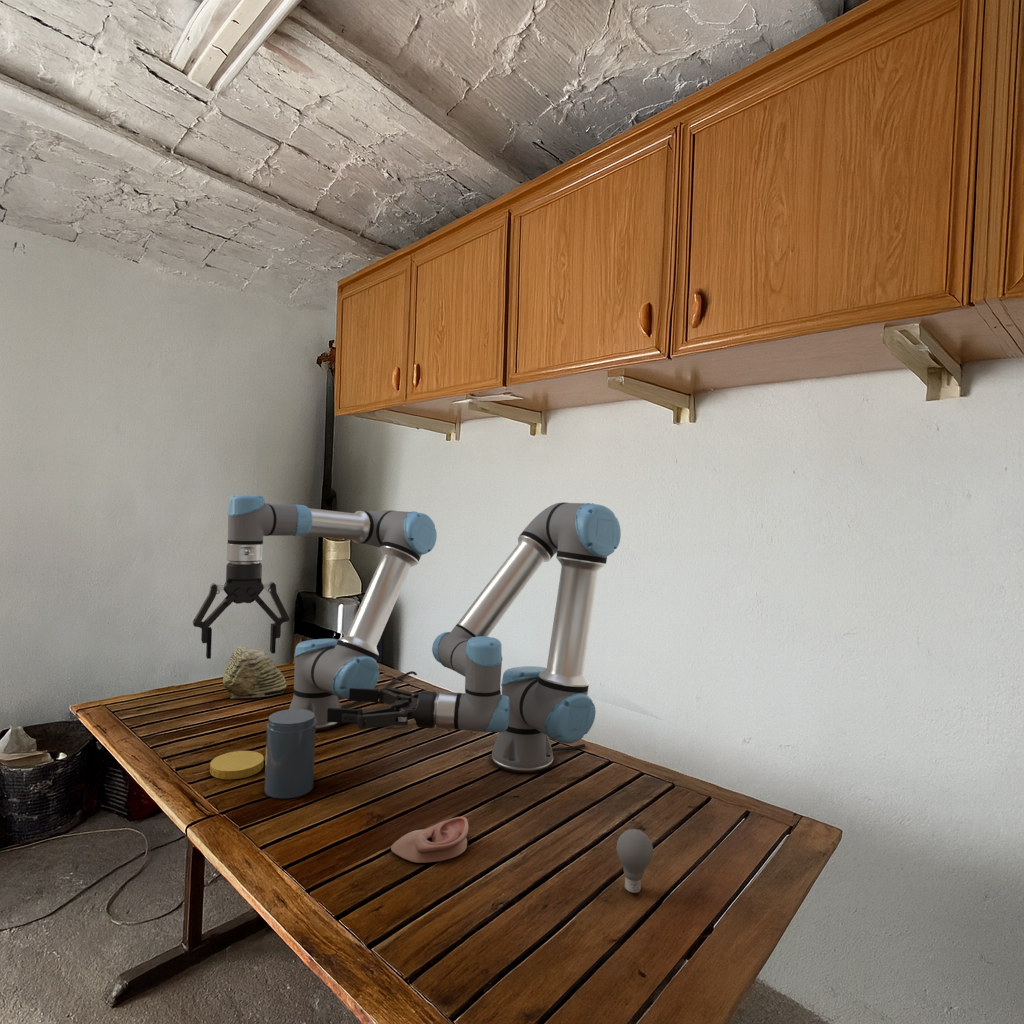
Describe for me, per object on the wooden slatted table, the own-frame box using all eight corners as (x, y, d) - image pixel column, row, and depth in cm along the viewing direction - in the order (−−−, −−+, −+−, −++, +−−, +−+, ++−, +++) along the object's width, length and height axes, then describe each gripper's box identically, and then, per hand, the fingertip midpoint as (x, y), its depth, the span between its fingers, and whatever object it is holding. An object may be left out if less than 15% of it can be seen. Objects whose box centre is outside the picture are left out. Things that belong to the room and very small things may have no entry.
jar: (318, 792, 136) (321, 720, 135) (268, 802, 130) (271, 727, 130) (307, 774, 144) (310, 705, 144) (260, 782, 139) (263, 711, 139)
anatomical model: (384, 835, 112) (408, 805, 123) (383, 857, 112) (407, 825, 123) (456, 847, 109) (474, 815, 120) (455, 869, 109) (473, 836, 121)
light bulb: (610, 879, 108) (613, 822, 108) (644, 879, 109) (647, 822, 109) (619, 902, 102) (622, 840, 102) (655, 901, 103) (658, 840, 103)
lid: (198, 772, 143) (198, 764, 143) (238, 755, 153) (239, 747, 153) (235, 783, 138) (235, 775, 138) (274, 764, 148) (274, 756, 148)
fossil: (218, 695, 195) (220, 647, 195) (278, 685, 208) (279, 640, 207) (228, 703, 189) (230, 653, 188) (289, 692, 201) (290, 645, 201)
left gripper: (184, 564, 135) (180, 663, 135) (304, 563, 148) (300, 653, 148) (182, 561, 141) (178, 655, 142) (297, 559, 154) (294, 646, 155)
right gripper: (423, 750, 122) (316, 743, 124) (446, 708, 147) (357, 702, 149) (425, 712, 122) (318, 705, 124) (447, 676, 147) (358, 671, 149)
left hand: (241, 654), depth 145 cm, fingers open, 13 cm apart
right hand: (339, 703), depth 136 cm, fingers open, 13 cm apart
